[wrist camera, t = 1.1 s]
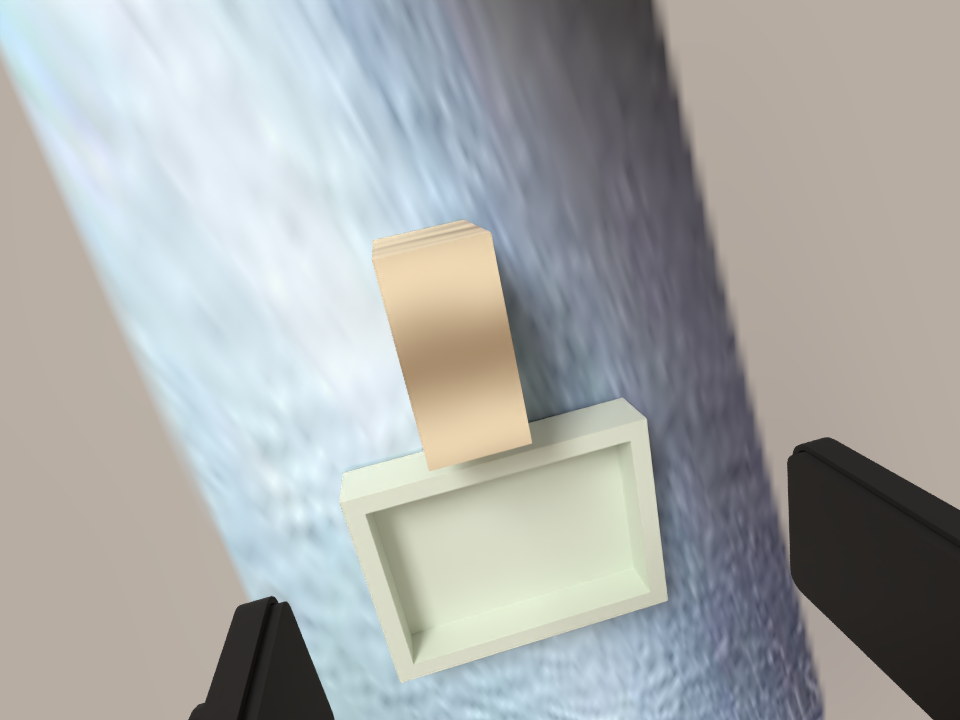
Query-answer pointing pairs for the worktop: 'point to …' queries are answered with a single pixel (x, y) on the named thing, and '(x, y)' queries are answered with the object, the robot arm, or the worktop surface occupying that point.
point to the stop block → (453, 341)
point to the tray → (509, 539)
